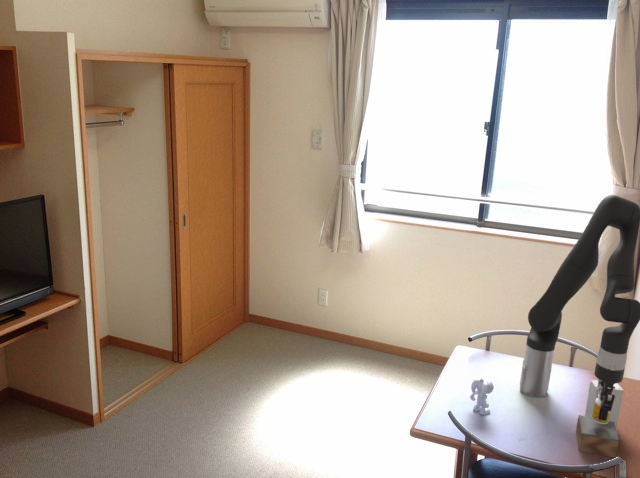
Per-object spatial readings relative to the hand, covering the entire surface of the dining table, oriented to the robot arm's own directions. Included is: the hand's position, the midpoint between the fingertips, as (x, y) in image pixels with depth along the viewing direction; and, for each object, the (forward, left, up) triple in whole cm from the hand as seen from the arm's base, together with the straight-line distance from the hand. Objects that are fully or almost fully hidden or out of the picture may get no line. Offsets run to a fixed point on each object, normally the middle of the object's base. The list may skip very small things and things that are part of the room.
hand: (601, 414), depth 176 cm
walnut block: (0, 0, -10) cm, 10 cm away
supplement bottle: (0, 0, -2) cm, 2 cm away
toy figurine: (-34, +6, -10) cm, 36 cm away
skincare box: (+2, +11, -10) cm, 16 cm away
